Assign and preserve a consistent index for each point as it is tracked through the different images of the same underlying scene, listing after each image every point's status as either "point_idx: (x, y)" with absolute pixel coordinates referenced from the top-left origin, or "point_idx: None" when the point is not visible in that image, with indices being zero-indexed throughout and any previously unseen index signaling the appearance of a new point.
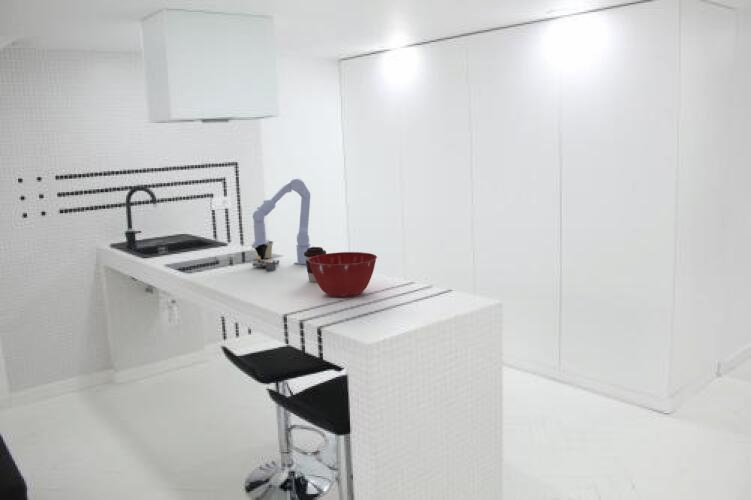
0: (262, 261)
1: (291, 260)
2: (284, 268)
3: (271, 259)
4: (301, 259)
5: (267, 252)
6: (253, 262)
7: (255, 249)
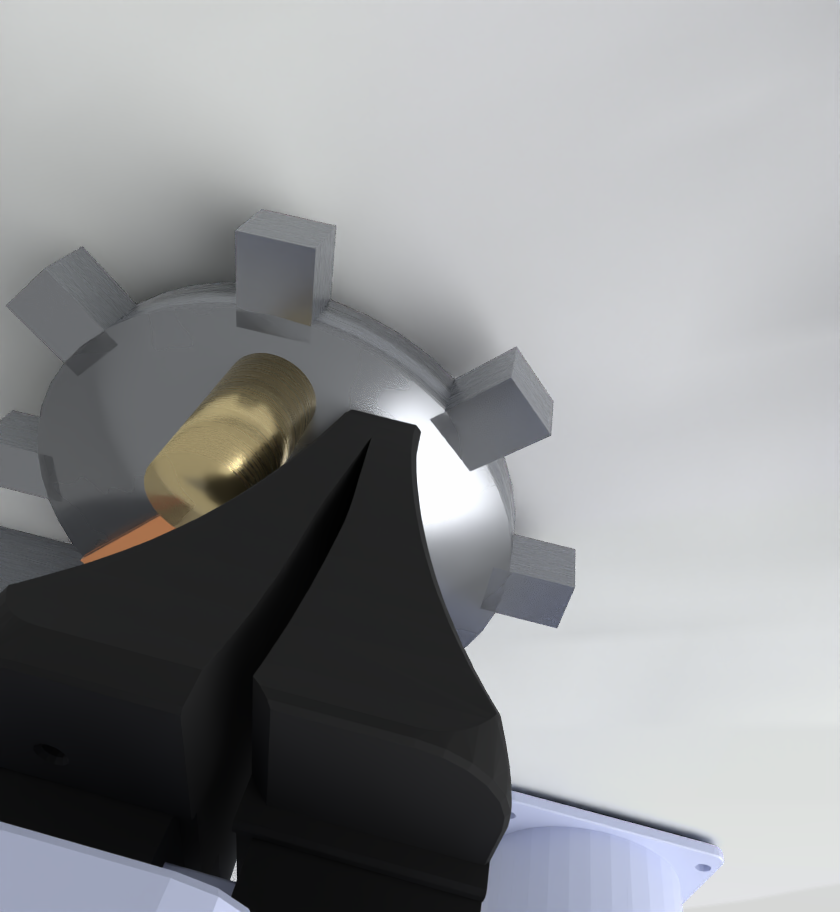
0: None
1: (832, 761)
2: None
3: (551, 598)
4: (482, 902)
5: None
6: (239, 231)
7: (76, 571)
